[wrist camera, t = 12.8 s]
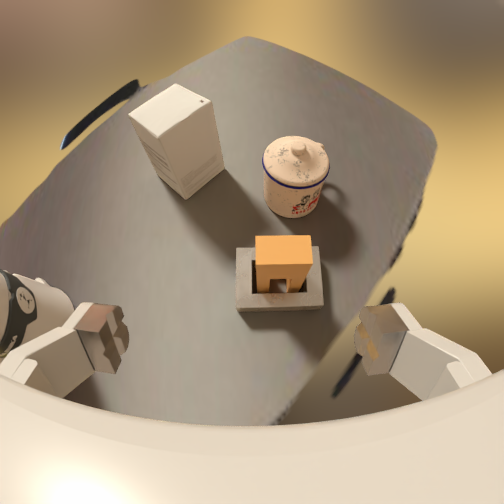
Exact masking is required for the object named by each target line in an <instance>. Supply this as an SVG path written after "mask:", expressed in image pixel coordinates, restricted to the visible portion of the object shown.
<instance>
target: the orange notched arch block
mask: <svg viewBox="0 0 504 504" xmlns="http://www.w3.org/2000/svg"><path fill="white" fill-rule="evenodd" d="M255 239H256V278H257V294H266V293H269V284H270V279H286V284H287V293H298V291H299V289H300V288H301V286H302V284H303V282H304V280H305V278H306V276H307V274H308V272H309V270H310V268H311V267H312V265H313V258H312V246H311V236H310V235H287V236H255Z"/></svg>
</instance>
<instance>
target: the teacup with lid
mask: <svg viewBox="0 0 504 504" xmlns="http://www.w3.org/2000/svg"><path fill="white" fill-rule="evenodd" d="M262 164H263V168H264V198H265V201H266V203H267V205H268V206H269V208H270V209H271V210H272V211H274V212H275V213H277V214H278V215H281V216H283V217H287V218H299V217H303V216H305V215H307V214H309V213H310V212H311V211H312V210H313V209H314V208H315V206H316V205H317V202H318V199H319V196H320V193H321V189H322V186H323V183H324V180H325V178H326V177H327V175H328V173H329V169H330V164H329V159H328V156H327V154H326V153H325V151H324V146H323V145H322V144H320V143H315V142H314V141H312V140H310V139H307V138H304V137H299V136H287V137H282V138H279V139H277V140H275V141H274V142H272V143H271V144H270V145H269V146H268V147H267V149H266V150H265V152H264V154H263V158H262Z"/></svg>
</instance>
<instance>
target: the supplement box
mask: <svg viewBox="0 0 504 504" xmlns="http://www.w3.org/2000/svg"><path fill="white" fill-rule="evenodd" d="M128 116H129V118H130V120H131V123H132V125H133V127H134V129H135V131H136V133H137V135H138V137H139V139H140V141H141V143H142V145H143V147H144V149H145V151H146V153H147V155H148V157H149V159H150V161H151V163H152V165H153V167H154V169H155V171H156V173H157V175H158V176H159V177H160V178H162V179H163V180H164V181H165V182H166V183H167V184H168V185H169V186H170V187H172V188H173V189H174V190H175V191H176V192H177V193H178V194H179V195H180V196H182V197H183V198H184V199H185V200H187V199H188V198H190V197H191V196H192V195H193V194H194V193H195V192H197V191H198V190H199V189H200V188H201V187H203V186H204V185H205V184H206V183H207V182H209V181H210V180H211V179H212V178H214V177H215V176H216V175H217V174H219V173H220V172H221V171H222V170H223V169H225V166H224V161H223V156H222V151H221V146H220V141H219V136H218V131H217V126H216V121H215V116H214V111H213V105H212V101H210V100H208V99H206V98H204V97H202V96H200V95H198V94H196V93H194V92H192V91H190V90H188V89H186V88H184V87H182V86H180V85H177V84H174V85H172V86H171V87H169V88H167V89H166V90H164V91H163V92H161V93H159V94H158V95H156V96H155V97H153V98H152V99H150V100H149V101H147V102H146V103H144V104H143V105H141V106H140V107H138V108H137V109H135V110H134V111H132V112H131V113H129V114H128Z"/></svg>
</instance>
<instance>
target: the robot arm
mask: <svg viewBox="0 0 504 504" xmlns="http://www.w3.org/2000/svg"><path fill="white" fill-rule="evenodd" d="M123 317H124V315H123V312H122V308H121V307H119V306H116V305H107V304H98V303H87V302H84V303H81V304H80V305H79V306H78V308H77V309H76V310H75V311H74V307H73V305H72V303H71V301H70V299H69V298H68V296H67V295H66V294H65V293H64V292H63V291H61V290H60V289H57V288H54V287H51V286H49V285H48V284H47V283H46V282H45V281H44V280H43V279H41V278H37V279H36V280H32V279H29V278H27V277H24V276H21V275H18V274H13V275H12V274H10V273H9V272H7V271H5V270H1V269H0V504H504V369H503V370H501V371H499V372H497V373H495V374H493V375H492V374H491V372H490V371H489V369H488V368H487V367H486V366H485V364H484V363H483V361H482V360H481V359H480V357H479V356H478V355H477V354H476V353H474V352H472V351H470V350H468V349H466V348H464V347H462V346H460V345H458V344H456V343H454V342H452V341H450V340H448V339H446V338H444V337H442V336H441V335H439V334H437V333H435V332H433V331H431V330H429V329H426V328H425V329H422V327H421V326H420V325H419V323H418V322H417V321H416V319H415V318H414V317H413V316H412V314H411V313H410V312H409V310H408V309H407V308H406V307H405V305H404V304H402V303H394V304H388V305H377V306H366V307H362V309H361V311H360V315H359V318H360V320H361V323H360V324H359V325H358V326H357V327H356V330H355V335H354V343H355V348H356V350H357V353H358V354H360V355H361V356H363V359H362V364H363V366H364V369H365V371H366V373H367V375H375V374H382V373H389V372H390V373H389V374H390V375H392V376H393V377H394V378H395V379H397V380H398V381H399V382H400V383H402V384H403V385H404V386H405V387H407V388H408V389H409V390H410V391H411V392H413V393H414V394H415V395H416V396H418V397H419V398H420V399H421V400H422V401H421V402H417V403H414V404H411V405H406V406H403V407H399V408H395V409H391V410H386V411H383V412H378V413H373V414H368V415H363V416H357V417H351V418H345V419H339V420H332V421H324V422H315V423H306V424H293V425H277V426H215V425H199V424H187V423H177V422H169V421H161V420H154V419H147V418H141V417H135V416H130V415H125V414H120V413H115V412H111V411H106V410H102V409H98V408H94V407H90V406H86V405H83V404H79V403H76V402H72V401H69V400H66V399H63V397H65V396H66V395H67V394H68V393H70V392H71V391H72V390H73V389H75V388H76V387H77V386H78V385H79V384H81V383H82V382H83V381H84V380H86V379H87V378H88V377H89V376H91V375H92V374H93V373H94V372H95V371H98V372H105V373H111V374H116V372H117V369H118V367H119V365H120V363H121V358H120V355H122V354H123V353H125V352H126V350H127V348H128V344H129V332H128V328H127V326H126V325H125V324H124V323H123V322H122V319H123Z"/></svg>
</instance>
